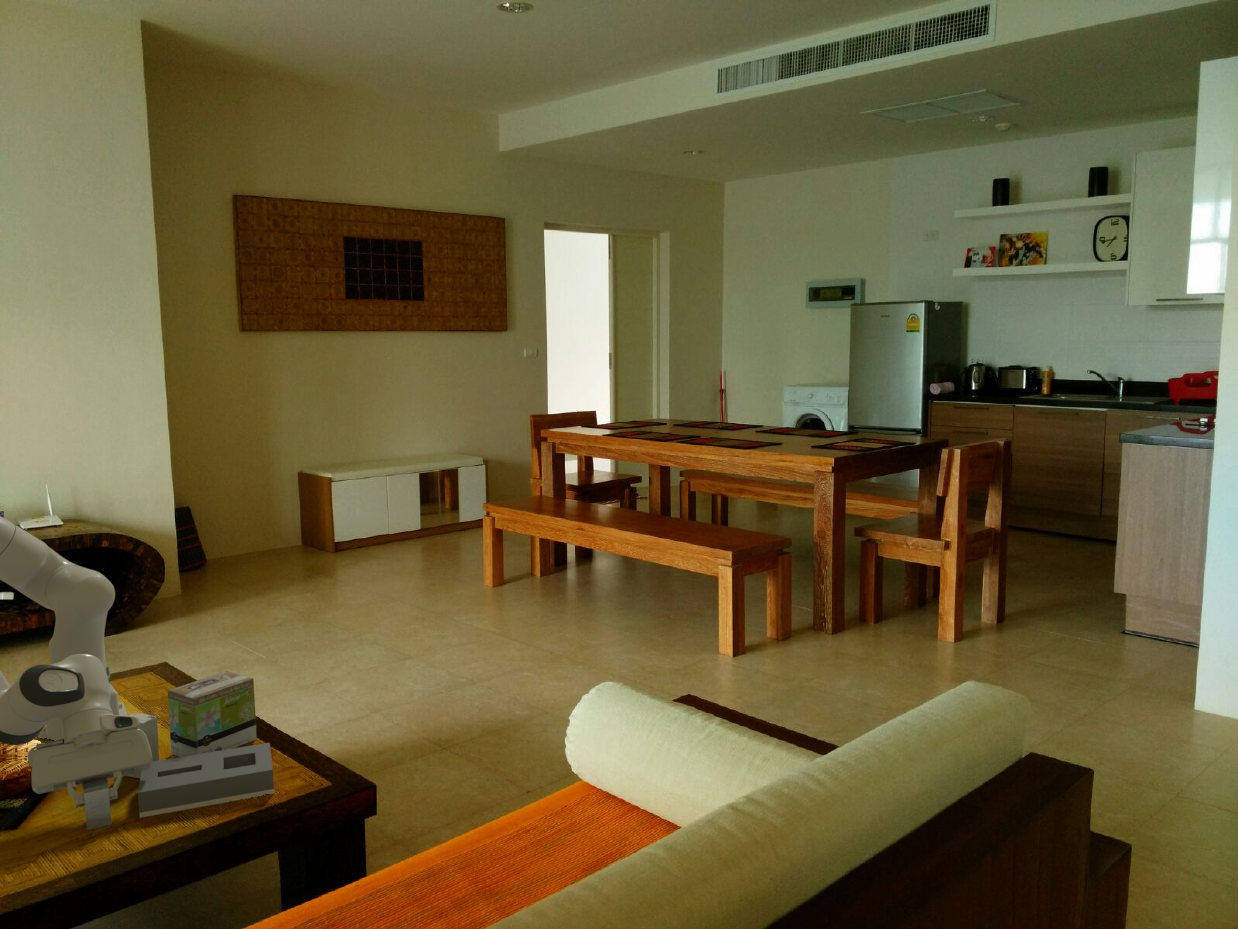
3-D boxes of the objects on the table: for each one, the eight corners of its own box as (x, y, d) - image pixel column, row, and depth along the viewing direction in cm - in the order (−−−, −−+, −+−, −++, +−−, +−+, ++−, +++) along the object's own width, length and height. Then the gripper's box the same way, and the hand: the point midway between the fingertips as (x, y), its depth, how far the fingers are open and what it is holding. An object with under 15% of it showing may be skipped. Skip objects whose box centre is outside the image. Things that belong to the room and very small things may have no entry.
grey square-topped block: (86, 821, 184) (82, 781, 183) (110, 815, 186) (106, 775, 185) (87, 830, 181) (83, 789, 180) (112, 824, 183) (108, 784, 182)
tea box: (199, 765, 208) (194, 698, 206) (170, 755, 213) (165, 689, 211) (258, 739, 220) (254, 676, 218) (230, 730, 226) (225, 668, 224)
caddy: (145, 786, 198) (143, 763, 197) (271, 765, 207) (269, 742, 206) (139, 817, 185) (137, 792, 185) (274, 793, 194) (272, 769, 193)
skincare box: (122, 776, 203) (116, 720, 201) (138, 767, 207) (133, 712, 206) (146, 780, 201) (141, 723, 200) (162, 770, 205) (157, 715, 204)
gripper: (25, 739, 182) (30, 810, 175) (147, 715, 192) (156, 781, 185) (28, 753, 186) (33, 823, 179) (146, 729, 197) (156, 794, 190)
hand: (97, 802), depth 183 cm, fingers closed on grey square-topped block, 4 cm apart
